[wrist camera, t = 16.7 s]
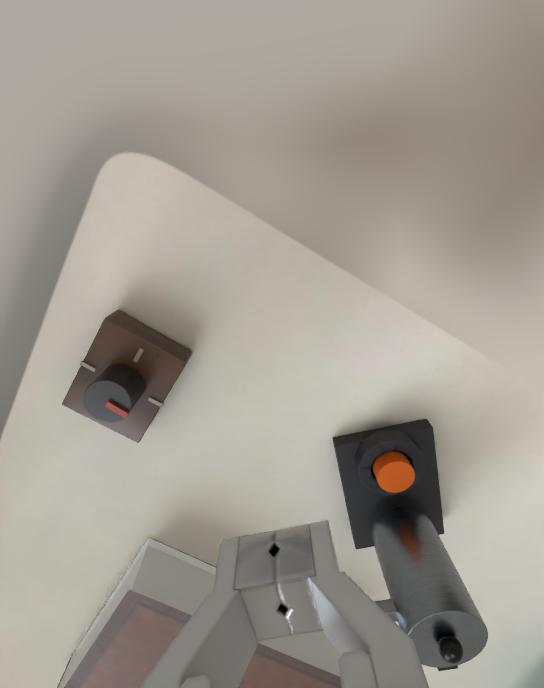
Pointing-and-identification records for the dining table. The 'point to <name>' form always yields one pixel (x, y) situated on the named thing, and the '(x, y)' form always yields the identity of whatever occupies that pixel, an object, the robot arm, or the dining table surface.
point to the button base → (362, 484)
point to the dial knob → (114, 393)
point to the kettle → (426, 590)
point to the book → (167, 621)
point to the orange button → (393, 471)
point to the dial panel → (138, 353)
